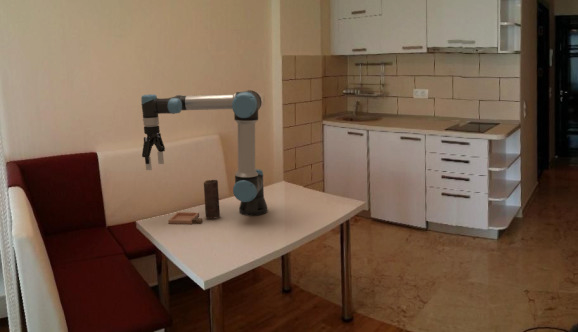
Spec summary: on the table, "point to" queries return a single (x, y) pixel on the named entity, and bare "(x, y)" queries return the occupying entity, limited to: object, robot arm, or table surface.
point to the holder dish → (183, 218)
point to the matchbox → (197, 220)
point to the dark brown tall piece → (211, 199)
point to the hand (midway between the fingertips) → (155, 166)
